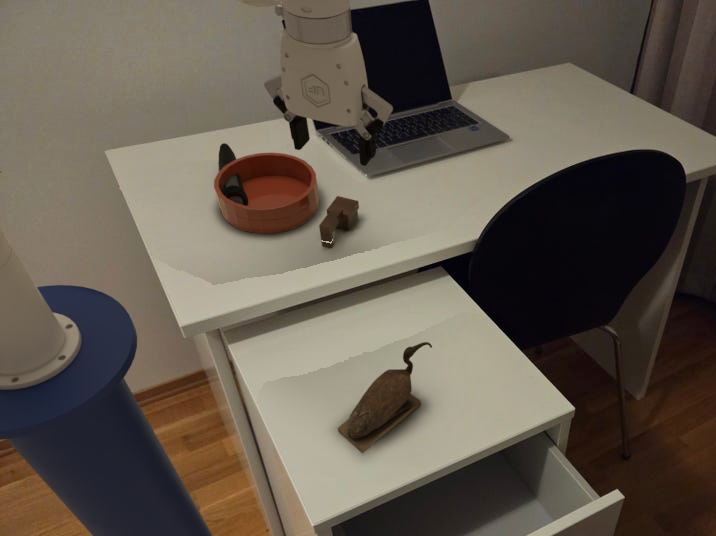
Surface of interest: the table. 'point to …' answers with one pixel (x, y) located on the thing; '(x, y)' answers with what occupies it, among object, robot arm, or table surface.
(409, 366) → the figurine
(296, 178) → the bowl
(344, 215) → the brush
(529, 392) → the table surface
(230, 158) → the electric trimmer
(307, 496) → the table surface
